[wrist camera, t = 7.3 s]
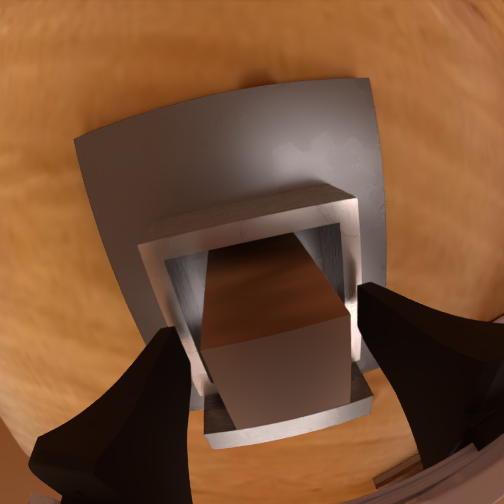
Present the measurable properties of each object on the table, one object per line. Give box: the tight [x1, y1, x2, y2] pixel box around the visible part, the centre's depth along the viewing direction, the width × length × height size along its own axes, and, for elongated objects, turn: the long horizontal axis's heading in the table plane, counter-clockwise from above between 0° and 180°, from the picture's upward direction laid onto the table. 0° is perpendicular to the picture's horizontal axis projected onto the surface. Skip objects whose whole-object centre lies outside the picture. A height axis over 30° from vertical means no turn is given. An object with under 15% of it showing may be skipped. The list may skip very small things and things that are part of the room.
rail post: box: [200, 232, 351, 430], centre depth 11 cm, size 4×4×7 cm
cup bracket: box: [74, 78, 386, 449], centre depth 13 cm, size 14×18×6 cm
